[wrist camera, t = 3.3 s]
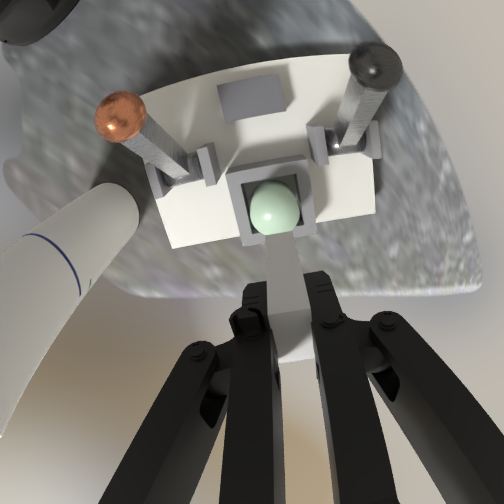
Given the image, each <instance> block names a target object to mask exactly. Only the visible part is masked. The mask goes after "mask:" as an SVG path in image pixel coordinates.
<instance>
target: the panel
mask: <svg viewBox="0 0 504 504" xmlns="http://www.w3.org/2000/svg"><path fill="white" fill-rule="evenodd" d="M349 55H350V54H333V55H317V56H305V57H295V58H287V59H279V60H272V61H266V62H260V63H254V64H249V65H244V66H239V67H234V68H230V69H225V70H221V71H217V72H213V73H209V74H205V75H201V76H198V77H194V78H191V79H187V80H184V81H181V82H178V83H174V84H171V85H168V86H165V87H162V88H160V89H157V90H154V91H151V92H149V93H146V94H143V95H141V96H139V97H140V98H141V99H142V100H143V102H144V104H145V106H146V111H147V113H148V114H149V115H150V116H151V117H152V118H153V119H154V120H155V121H156V122H157V123H158V124H159V125H160V126H161V127H162V128H163V129H164V130H165V131H166V132H167V133H168V134H169V135H170V136H171V137H172V138H173V139H174V140H175V141H176V142H177V143H178V144H179V145H180V146H181V147H182V148H183V149H184V150H185V151H186V152H187V153H192V152H196V151H197V153H198V157H199V161H200V165H201V169H202V172H203V176H204V179H203V180H199V181H195V182H191V183H187V184H183V185H179V186H175V187H169V186H168V185H167V184H166V182H165V180H164V177H163V172H162V170H160V169H159V168H157V167H156V166H154V165H153V164H151V163H150V162H148V161H147V160H145V159H144V158H143V161H144V166H145V170H146V173H147V176H148V179H149V183H150V186H151V189H152V192H153V195H154V198H155V200H156V203H157V206H158V209H159V212H160V215H161V218H162V221H163V223H164V226H165V229H166V232H167V235H168V238H169V240H170V243H171V246H172V249H173V248H178V247H183V246H189V245H194V244H199V243H205V242H210V241H215V240H221V239H226V238H232V237H237V236H240V237H241V241H242V245H243V247H244V246H250V245H256V244H261V243H265V235H264V234H262V233H260V232H259V231H258V230H257V229H256V228H255V227H254V225H253V224H252V221H251V218H250V208H251V197H252V194H253V192H254V190H255V189H256V187H257V186H258V185H260V184H261V183H263V182H265V181H269V180H277V181H281V182H283V183H285V184H286V185H288V186H289V187H290V188H291V190H292V192H293V194H294V196H295V199H296V201H297V204H298V207H299V212H300V215H299V220H298V223H297V224H296V226H295V227H294V228H293V230H291V231H292V232H293V236H294V238H296V237H302V236H308V235H313V234H317V226H316V223H317V222H323V221H329V220H335V219H341V218H348V217H354V216H360V215H366V214H373V213H375V193H374V177H373V163H372V159H380V158H382V156H381V145H380V135H379V126H378V121H375V120H371V121H370V123H369V125H368V126H367V128H366V130H365V131H364V137H365V150H364V152H362V153H353V154H344V155H336V156H328V153H327V146H326V139H325V133H324V127H332V126H334V123H335V120H336V117H337V114H338V111H339V108H340V105H341V102H342V99H343V96H344V93H345V90H346V87H347V84H348V81H349V78H350V75H351V73H350V70H349V66H348V60H349Z"/></svg>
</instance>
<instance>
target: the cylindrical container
mask: <svg viewBox="0 0 504 504" xmlns="http://www.w3.org/2000/svg"><path fill="white" fill-rule="evenodd" d="M138 224H139V211H138V207H137V204H136V202H135V200H134V199H133V197H132V195H131V194H130V193H129V192H128V191H127V190H126V189H124V188H123V187H122V186H119V185H117V184H114V183H102V184H100V185H98V186H96V187H94V188H92V189H91V190H89V191H88V192H86V193H84V194H83V195H81V196H80V197H78V198H77V199H75V200H73V201H72V202H70V203H69V204H67V205H66V206H64V207H63V208H61V209H60V210H58V211H57V212H55V213H54V214H53V215H51V216H50V217H48V218H47V219H45V220H44V221H43V222H41V223H40V224H38V225H37V226H36V227H34V228H33V229H32V230H30V231H29V232H28V233H26V234H25V235H24V236H22V238H20V239H19V240H17V241H16V242H15V243H14V244H12V245H11V246H10V247H9V248H8V249H7V250H5V251H4V252H3V253H2V254H1V255H0V437H2V435H3V433H4V430H5V428H6V426H7V424H8V422H9V420H10V418H11V416H12V414H13V411H14V409H15V407H16V405H17V403H18V401H19V400H20V398H21V396H22V394H23V392H24V390H25V388H26V386H27V385H28V383H29V381H30V379H31V378H32V376H33V374H34V372H35V370H36V369H37V367H38V365H39V364H40V362H41V360H42V358H43V357H44V356H45V354H46V352H47V351H48V349H49V347H50V346H51V344H52V342H53V341H54V340H55V338H56V337H57V335H58V333H59V332H60V330H61V329H62V328H63V326H64V325H65V323H66V322H67V320H68V319H69V317H70V316H71V314H72V313H73V312H74V310H75V309H76V307H77V306H78V304H79V303H80V302H81V300H82V299H83V297H84V296H85V295H86V293H87V292H88V291H89V289H90V288H91V287H92V285H93V284H94V283H95V281H96V280H97V279H98V278H99V276H100V275H101V274H102V272H103V271H104V270H105V269H106V267H107V266H108V265H109V264H110V262H111V261H112V260H113V259H114V257H115V256H116V255H117V254H118V252H119V251H120V250H121V249H122V248H123V246H124V245H125V244H126V243H127V242H128V240H129V239H130V238H131V237H132V236H133V235H134V233H135V232H136V230H137V227H138Z"/></svg>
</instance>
